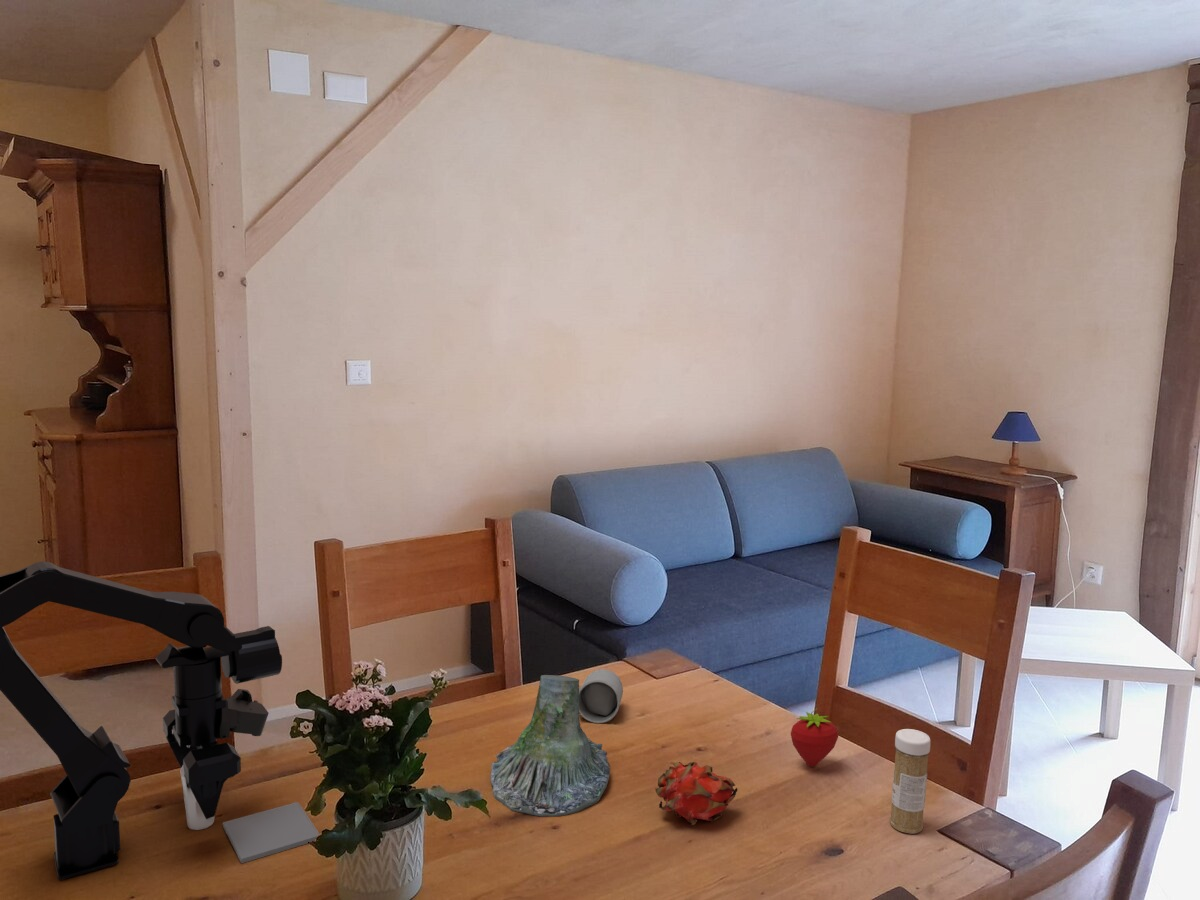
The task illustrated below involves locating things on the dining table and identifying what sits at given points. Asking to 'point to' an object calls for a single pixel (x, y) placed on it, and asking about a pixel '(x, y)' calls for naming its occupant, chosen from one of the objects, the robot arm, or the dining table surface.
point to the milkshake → (193, 808)
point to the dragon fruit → (695, 792)
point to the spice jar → (909, 780)
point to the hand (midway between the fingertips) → (202, 801)
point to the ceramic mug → (600, 696)
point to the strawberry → (813, 738)
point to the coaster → (270, 832)
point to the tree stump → (551, 757)
